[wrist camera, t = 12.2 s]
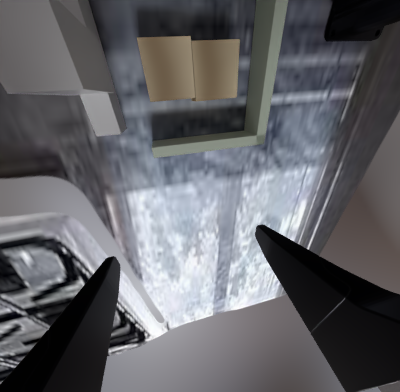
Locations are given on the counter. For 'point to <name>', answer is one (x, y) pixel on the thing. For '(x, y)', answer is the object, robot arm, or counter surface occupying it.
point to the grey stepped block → (58, 57)
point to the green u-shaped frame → (257, 89)
